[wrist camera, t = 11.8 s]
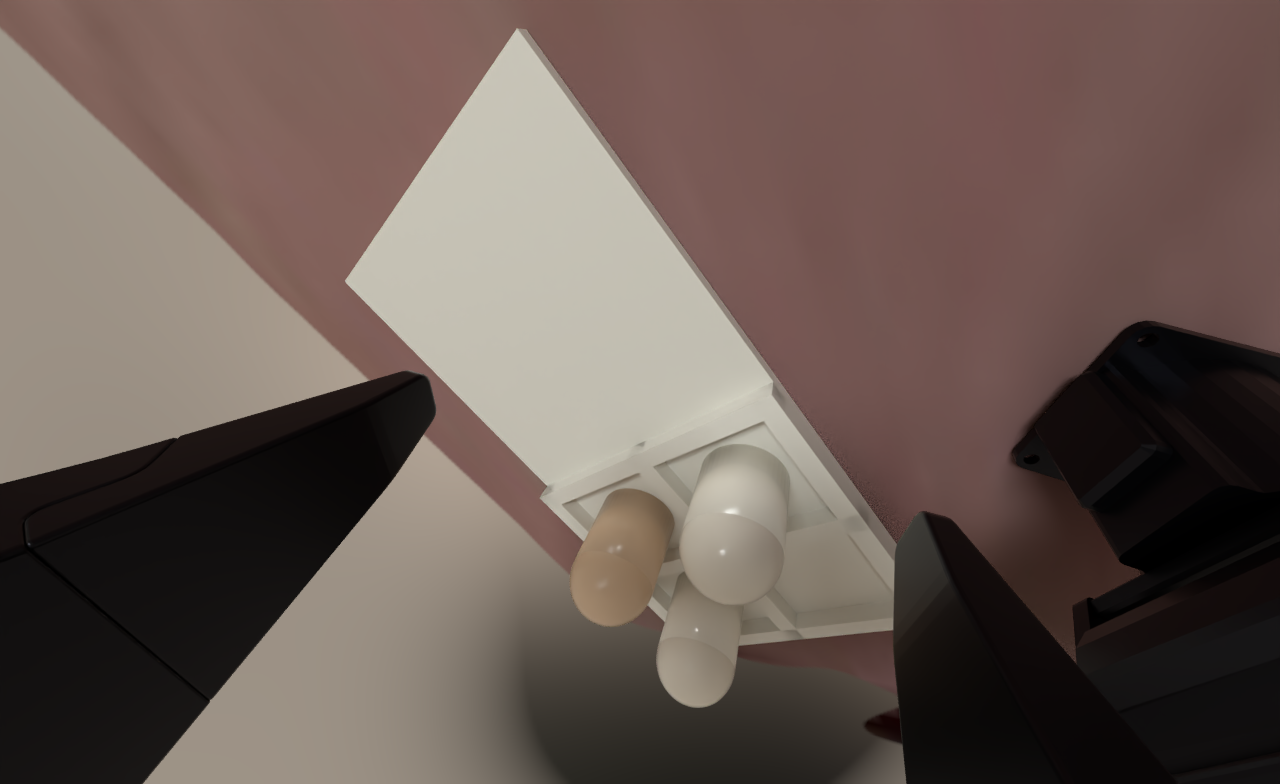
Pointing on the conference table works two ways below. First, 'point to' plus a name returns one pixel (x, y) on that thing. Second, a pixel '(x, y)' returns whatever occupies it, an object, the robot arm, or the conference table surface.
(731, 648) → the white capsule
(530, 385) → the egg carton
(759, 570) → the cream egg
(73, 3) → the conference table surface
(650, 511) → the brown egg
